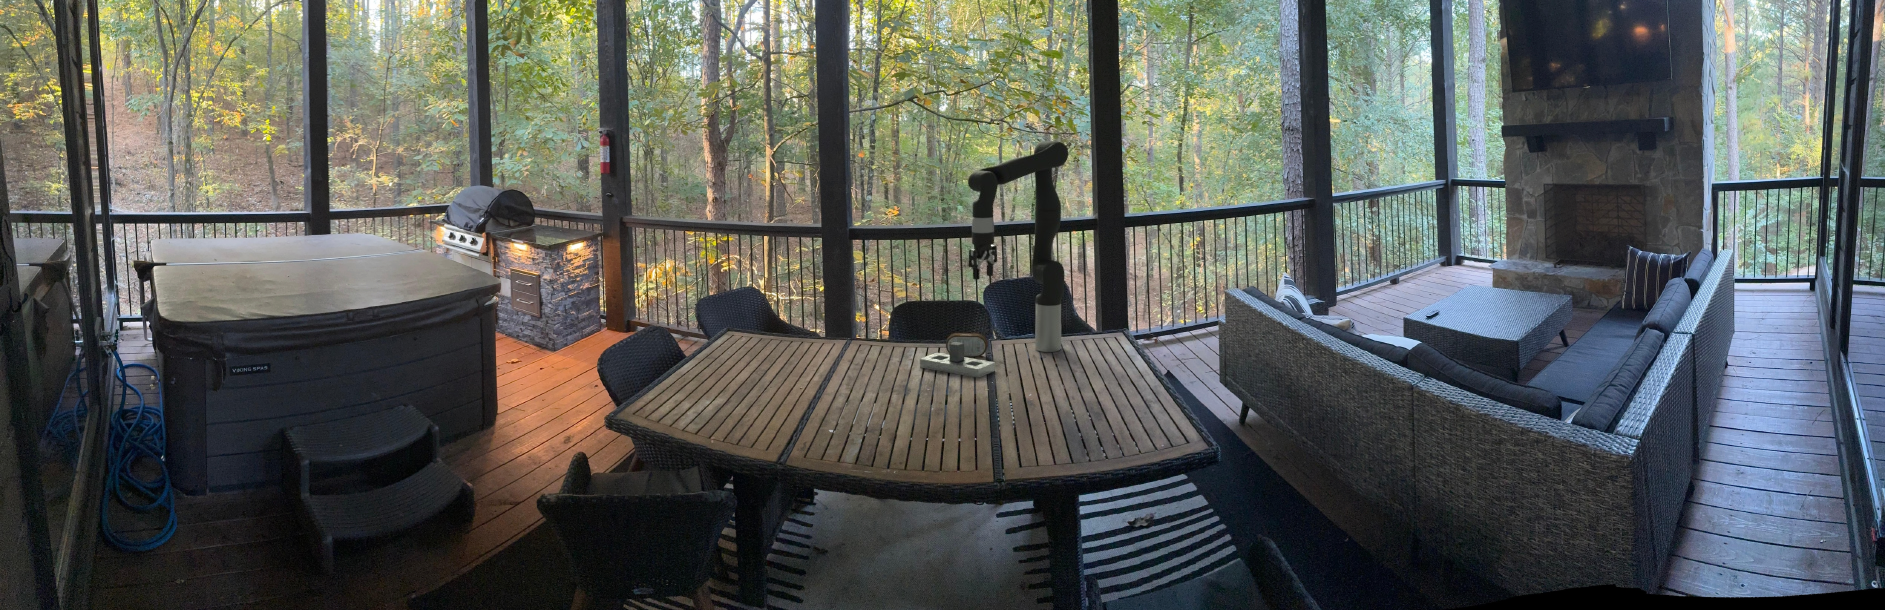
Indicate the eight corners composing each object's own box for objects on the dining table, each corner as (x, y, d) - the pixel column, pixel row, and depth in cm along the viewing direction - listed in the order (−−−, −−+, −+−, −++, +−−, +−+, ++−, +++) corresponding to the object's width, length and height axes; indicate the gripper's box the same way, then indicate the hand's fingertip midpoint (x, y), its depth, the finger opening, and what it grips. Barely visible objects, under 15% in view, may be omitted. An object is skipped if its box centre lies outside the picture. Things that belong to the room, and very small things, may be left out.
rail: (936, 360, 319) (936, 352, 318) (994, 370, 305) (994, 362, 305) (920, 367, 311) (919, 358, 311) (978, 377, 297) (978, 369, 297)
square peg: (955, 367, 311) (955, 341, 309) (964, 368, 309) (964, 343, 307) (949, 369, 308) (949, 343, 306) (958, 371, 306) (958, 345, 304)
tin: (987, 355, 326) (987, 332, 324) (987, 357, 322) (987, 334, 321) (946, 355, 327) (945, 332, 325) (945, 357, 324) (945, 334, 322)
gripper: (980, 233, 299) (981, 281, 302) (1003, 228, 310) (1003, 275, 314) (962, 232, 303) (962, 279, 307) (985, 227, 315) (985, 273, 318)
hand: (983, 277), depth 310 cm, fingers open, 8 cm apart
